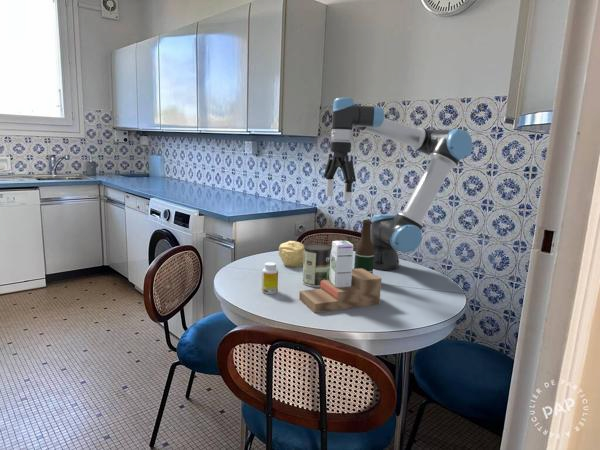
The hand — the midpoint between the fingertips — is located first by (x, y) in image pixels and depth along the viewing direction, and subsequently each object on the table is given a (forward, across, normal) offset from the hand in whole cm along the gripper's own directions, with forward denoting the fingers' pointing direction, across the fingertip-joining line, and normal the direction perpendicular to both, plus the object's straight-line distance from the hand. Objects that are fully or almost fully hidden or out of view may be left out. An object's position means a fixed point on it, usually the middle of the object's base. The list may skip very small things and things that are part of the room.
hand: (337, 198), depth 158 cm
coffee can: (+32, +3, -9) cm, 33 cm away
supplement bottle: (+32, +7, -29) cm, 44 cm away
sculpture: (+32, -21, -8) cm, 39 cm away
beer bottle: (+32, +6, +10) cm, 34 cm away
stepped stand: (+32, +23, -10) cm, 40 cm away
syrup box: (+26, +23, -10) cm, 36 cm away
